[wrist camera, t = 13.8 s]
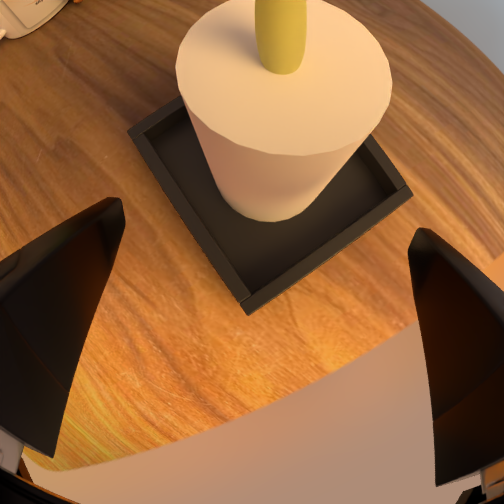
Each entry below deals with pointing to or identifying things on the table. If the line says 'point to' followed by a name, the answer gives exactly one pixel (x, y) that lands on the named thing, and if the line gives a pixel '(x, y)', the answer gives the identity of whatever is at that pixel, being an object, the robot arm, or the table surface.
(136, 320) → the table surface
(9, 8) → the mug
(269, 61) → the candle
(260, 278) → the shallow square tray
